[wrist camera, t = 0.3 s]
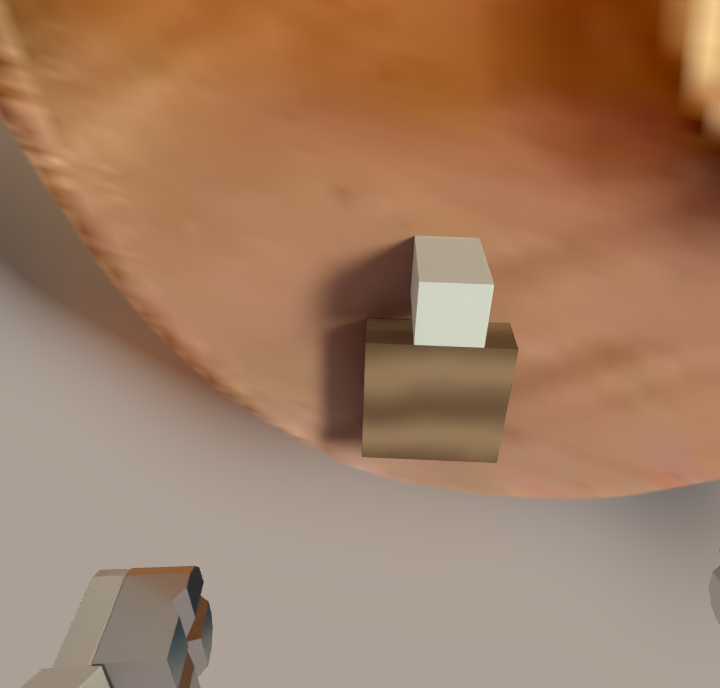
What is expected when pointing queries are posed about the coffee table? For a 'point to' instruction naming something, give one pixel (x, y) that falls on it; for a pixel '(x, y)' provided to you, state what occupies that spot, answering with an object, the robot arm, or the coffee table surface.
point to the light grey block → (450, 292)
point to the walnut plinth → (435, 394)
